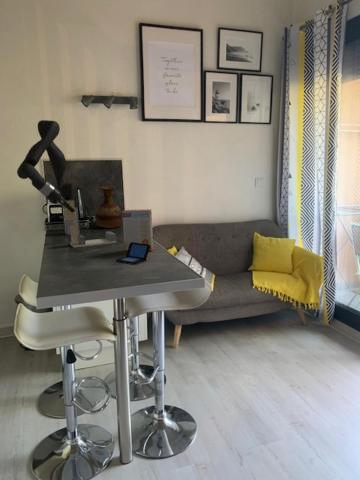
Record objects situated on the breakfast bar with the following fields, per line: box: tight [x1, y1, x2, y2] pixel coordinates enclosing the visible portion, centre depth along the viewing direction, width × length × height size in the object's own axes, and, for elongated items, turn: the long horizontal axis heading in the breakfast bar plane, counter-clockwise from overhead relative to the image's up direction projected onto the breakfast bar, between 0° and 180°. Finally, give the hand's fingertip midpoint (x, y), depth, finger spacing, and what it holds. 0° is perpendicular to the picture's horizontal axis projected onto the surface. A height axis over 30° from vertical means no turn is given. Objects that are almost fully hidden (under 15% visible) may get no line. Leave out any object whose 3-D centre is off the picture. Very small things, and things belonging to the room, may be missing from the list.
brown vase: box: [94, 185, 123, 229], centre depth 276 cm, size 20×20×30 cm
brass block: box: [64, 199, 76, 220], centre depth 221 cm, size 5×5×11 cm
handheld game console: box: [115, 242, 150, 265], centre depth 174 cm, size 12×11×7 cm
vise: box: [69, 231, 118, 248], centre depth 218 cm, size 12×24×5 cm, turn 116°
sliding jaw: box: [70, 225, 86, 245], centre depth 214 cm, size 12×6×10 cm, turn 26°
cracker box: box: [121, 208, 154, 253], centre depth 194 cm, size 14×6×21 cm, turn 84°
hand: (73, 211), depth 222 cm, fingers closed on brass block, 5 cm apart
